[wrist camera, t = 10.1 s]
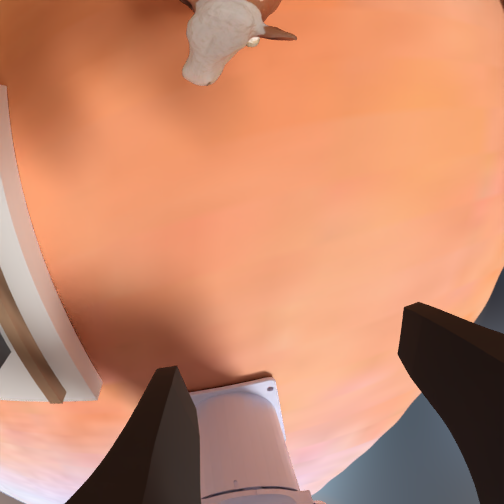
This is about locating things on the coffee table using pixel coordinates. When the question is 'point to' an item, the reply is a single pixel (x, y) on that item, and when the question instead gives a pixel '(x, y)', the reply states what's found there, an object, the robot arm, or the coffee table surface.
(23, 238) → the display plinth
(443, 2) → the coffee table surface
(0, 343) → the grey rectangular block
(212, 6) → the bull figurine
